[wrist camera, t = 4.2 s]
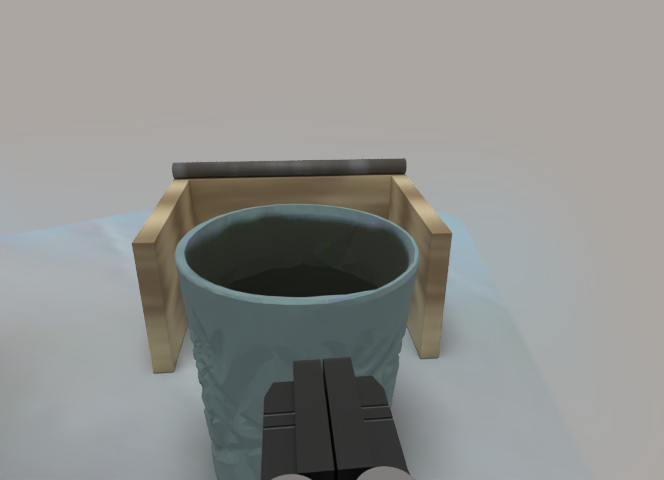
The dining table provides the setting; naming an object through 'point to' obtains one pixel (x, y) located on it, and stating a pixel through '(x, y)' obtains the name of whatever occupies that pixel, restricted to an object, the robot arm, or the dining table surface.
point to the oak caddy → (285, 188)
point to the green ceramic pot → (288, 309)
